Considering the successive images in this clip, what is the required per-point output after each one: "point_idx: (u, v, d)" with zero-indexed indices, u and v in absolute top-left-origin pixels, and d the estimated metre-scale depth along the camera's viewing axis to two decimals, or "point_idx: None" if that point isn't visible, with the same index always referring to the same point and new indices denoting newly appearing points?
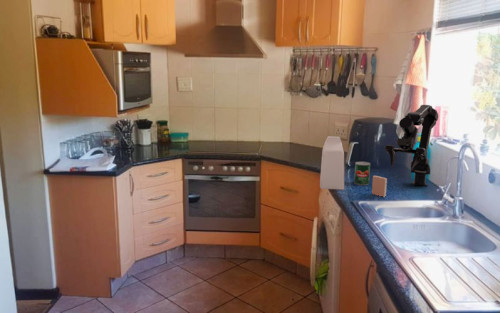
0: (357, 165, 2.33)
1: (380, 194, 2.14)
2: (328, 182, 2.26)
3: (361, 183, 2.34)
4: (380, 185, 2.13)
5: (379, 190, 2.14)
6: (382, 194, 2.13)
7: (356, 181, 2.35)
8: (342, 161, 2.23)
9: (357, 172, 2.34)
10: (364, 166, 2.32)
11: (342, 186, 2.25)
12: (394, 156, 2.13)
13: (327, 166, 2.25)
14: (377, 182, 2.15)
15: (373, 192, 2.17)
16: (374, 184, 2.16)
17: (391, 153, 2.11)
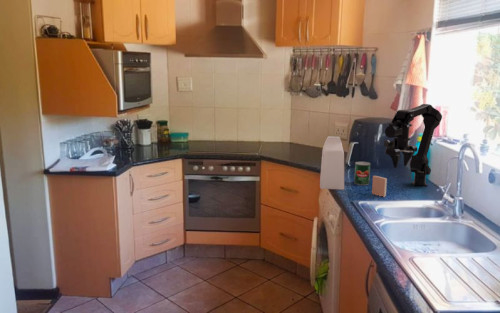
0: (357, 165, 2.33)
1: (380, 194, 2.14)
2: (328, 182, 2.26)
3: (361, 183, 2.34)
4: (380, 185, 2.13)
5: (379, 190, 2.14)
6: (382, 194, 2.13)
7: (356, 181, 2.35)
8: (342, 161, 2.23)
9: (357, 172, 2.34)
10: (364, 166, 2.32)
11: (342, 186, 2.25)
12: (407, 155, 2.23)
13: (327, 166, 2.25)
14: (377, 182, 2.15)
15: (373, 192, 2.17)
16: (374, 184, 2.16)
17: None
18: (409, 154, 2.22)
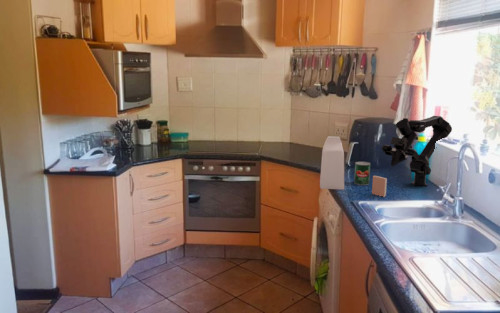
0: (357, 165, 2.33)
1: (380, 194, 2.14)
2: (328, 182, 2.26)
3: (361, 183, 2.34)
4: (380, 185, 2.13)
5: (379, 190, 2.14)
6: (382, 194, 2.13)
7: (356, 181, 2.35)
8: (342, 161, 2.23)
9: (357, 172, 2.34)
10: (364, 166, 2.32)
11: (342, 186, 2.25)
12: None
13: (327, 166, 2.25)
14: (377, 182, 2.15)
15: (373, 192, 2.17)
16: (374, 184, 2.16)
17: (393, 153, 2.19)
18: None
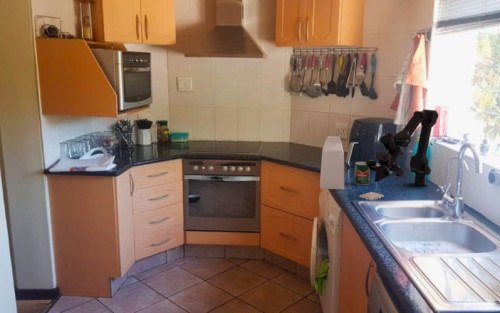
0: (357, 165, 2.33)
1: None
2: (328, 182, 2.26)
3: (361, 183, 2.34)
4: None
5: None
6: None
7: (356, 181, 2.35)
8: (342, 161, 2.23)
9: (357, 172, 2.34)
10: (364, 166, 2.32)
11: (342, 186, 2.25)
12: None
13: (327, 166, 2.25)
14: None
15: None
16: None
17: (377, 169, 2.14)
18: None
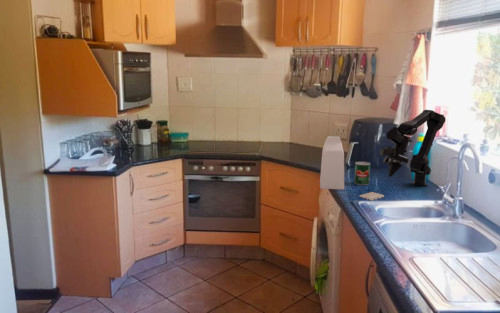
0: (357, 165, 2.33)
1: None
2: (328, 182, 2.26)
3: (361, 183, 2.34)
4: None
5: None
6: None
7: (356, 181, 2.35)
8: (342, 161, 2.23)
9: (357, 172, 2.34)
10: (364, 166, 2.32)
11: (342, 186, 2.25)
12: None
13: (327, 166, 2.25)
14: None
15: None
16: None
17: (389, 164, 2.20)
18: None
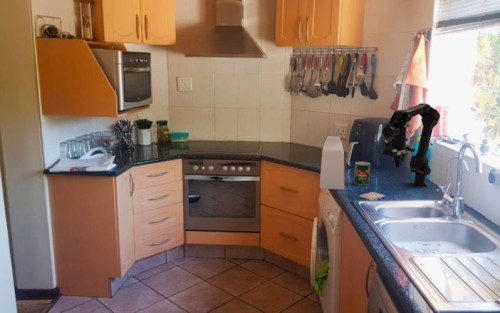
0: (357, 165, 2.33)
1: None
2: (328, 182, 2.26)
3: (361, 183, 2.34)
4: None
5: None
6: None
7: (356, 181, 2.35)
8: (342, 161, 2.23)
9: (357, 172, 2.34)
10: (364, 166, 2.32)
11: (342, 186, 2.25)
12: None
13: (327, 166, 2.25)
14: None
15: None
16: None
17: None
18: None
